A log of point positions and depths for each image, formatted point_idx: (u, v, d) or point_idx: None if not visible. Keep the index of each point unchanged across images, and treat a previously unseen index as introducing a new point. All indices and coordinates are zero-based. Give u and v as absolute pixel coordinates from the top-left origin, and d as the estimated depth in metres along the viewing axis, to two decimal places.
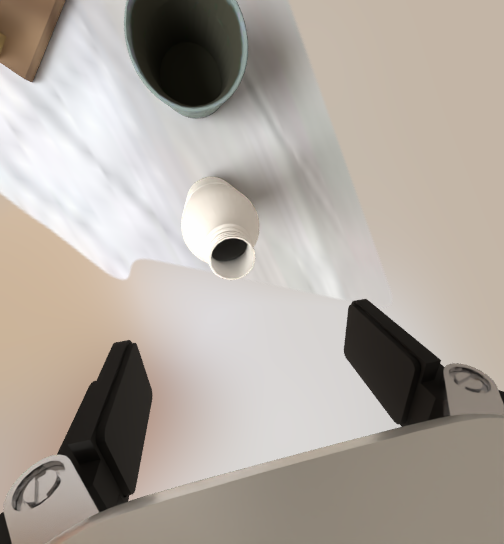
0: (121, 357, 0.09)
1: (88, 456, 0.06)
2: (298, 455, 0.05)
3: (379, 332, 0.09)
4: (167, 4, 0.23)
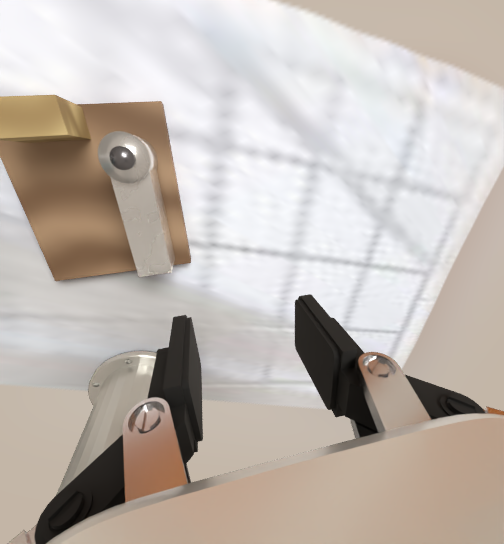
0: (184, 327, 0.10)
1: (176, 400, 0.08)
2: (298, 455, 0.05)
3: (314, 324, 0.10)
4: None
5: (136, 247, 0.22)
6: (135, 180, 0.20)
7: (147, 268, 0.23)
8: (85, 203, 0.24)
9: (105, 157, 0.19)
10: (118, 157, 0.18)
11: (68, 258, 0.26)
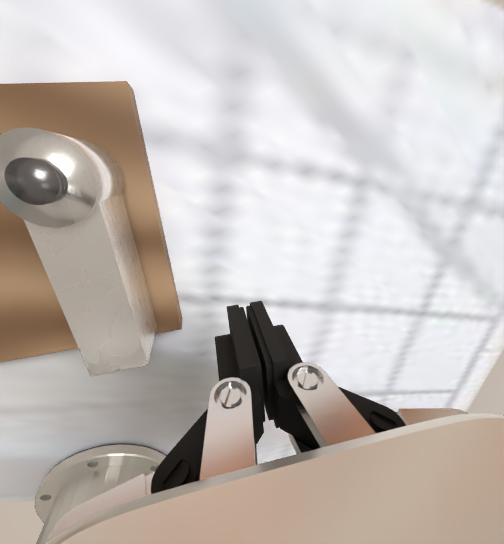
0: (241, 315, 0.10)
1: (250, 381, 0.08)
2: (298, 455, 0.05)
3: None
4: None
5: (83, 331, 0.13)
6: (70, 221, 0.10)
7: (105, 362, 0.14)
8: (5, 250, 0.15)
9: (3, 180, 0.09)
10: (24, 180, 0.09)
11: None
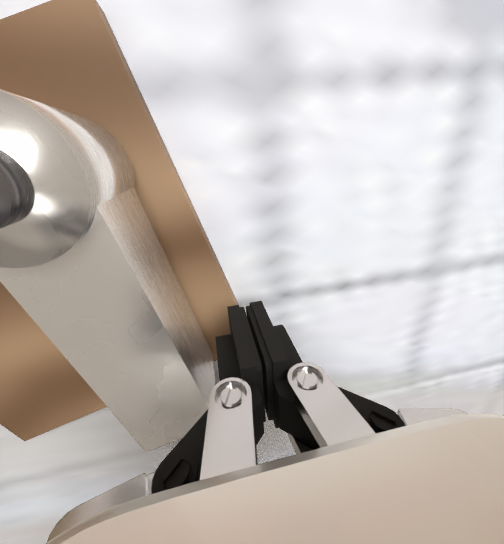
0: (241, 316, 0.10)
1: (250, 381, 0.08)
2: (298, 455, 0.05)
3: None
4: None
5: (122, 402, 0.09)
6: (56, 250, 0.06)
7: (161, 432, 0.10)
8: (13, 302, 0.11)
9: None
10: None
11: (29, 403, 0.13)
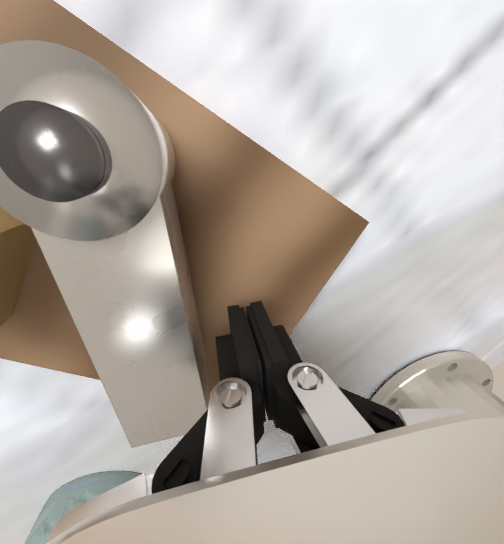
0: (241, 316, 0.10)
1: (250, 381, 0.08)
2: (298, 455, 0.05)
3: None
4: None
5: (124, 392, 0.08)
6: (113, 230, 0.06)
7: (153, 429, 0.09)
8: None
9: None
10: (33, 151, 0.04)
11: None
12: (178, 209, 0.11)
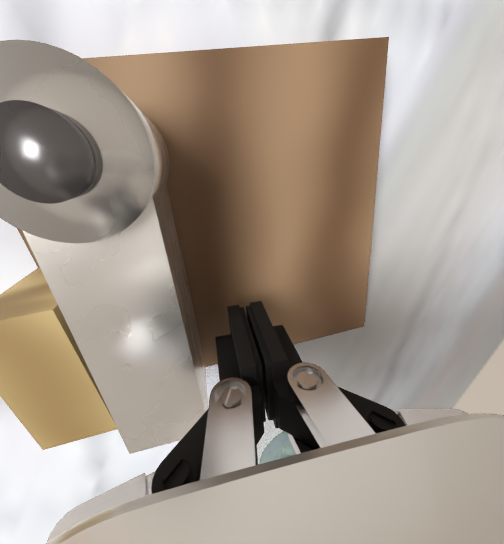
0: (241, 316, 0.10)
1: (250, 381, 0.08)
2: (298, 455, 0.05)
3: None
4: None
5: (120, 397, 0.08)
6: (106, 232, 0.06)
7: (151, 434, 0.09)
8: (235, 274, 0.12)
9: None
10: (20, 152, 0.04)
11: (331, 306, 0.15)
12: (191, 174, 0.10)
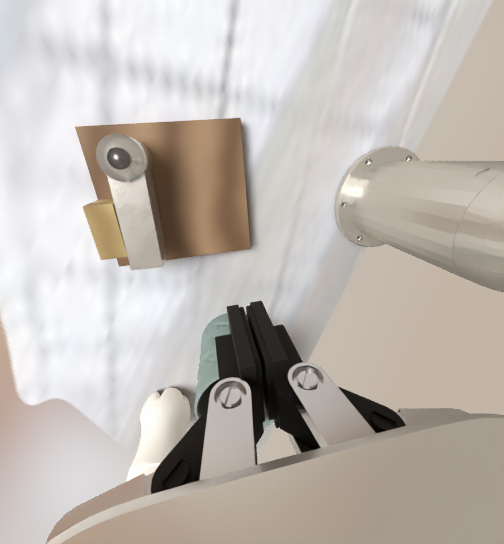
0: (241, 316, 0.10)
1: (250, 381, 0.08)
2: (298, 455, 0.05)
3: None
4: None
5: (129, 242, 0.24)
6: (130, 179, 0.21)
7: (139, 262, 0.25)
8: (181, 212, 0.28)
9: (103, 157, 0.20)
10: (115, 157, 0.20)
11: (230, 235, 0.30)
12: (161, 166, 0.26)
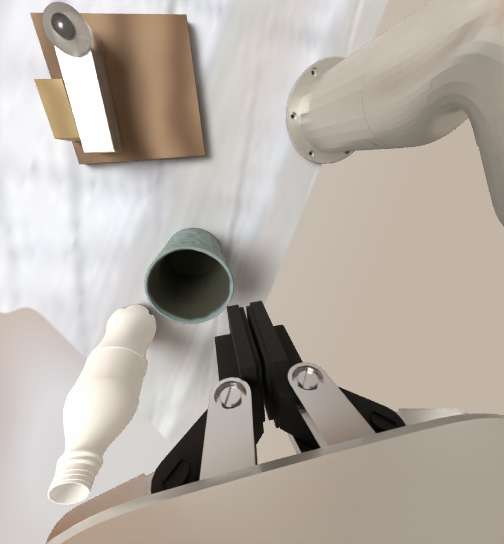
0: (241, 315, 0.10)
1: (250, 381, 0.08)
2: (298, 455, 0.05)
3: None
4: None
5: (81, 121, 0.26)
6: (76, 51, 0.23)
7: (91, 144, 0.27)
8: (135, 110, 0.30)
9: (49, 26, 0.22)
10: (58, 23, 0.22)
11: (184, 138, 0.32)
12: (114, 60, 0.28)
